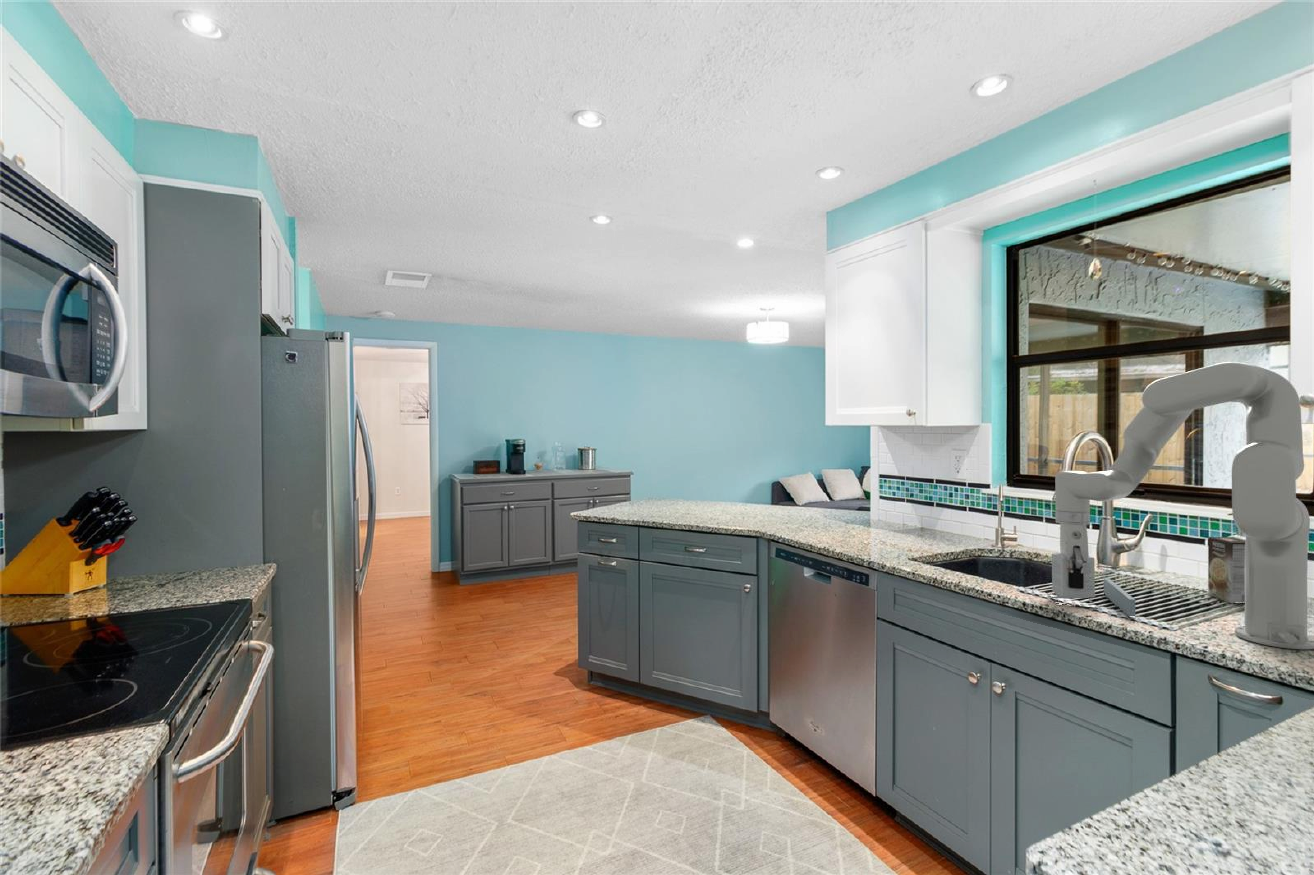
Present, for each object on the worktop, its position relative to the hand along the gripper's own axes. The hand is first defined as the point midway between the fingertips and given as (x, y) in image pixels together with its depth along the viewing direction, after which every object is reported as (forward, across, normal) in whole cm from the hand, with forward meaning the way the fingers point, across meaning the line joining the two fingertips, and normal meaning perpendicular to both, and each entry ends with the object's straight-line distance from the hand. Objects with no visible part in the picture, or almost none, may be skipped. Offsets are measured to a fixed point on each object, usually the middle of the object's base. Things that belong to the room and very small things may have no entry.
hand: (1072, 584), depth 164 cm
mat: (+5, 0, 0) cm, 5 cm away
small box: (+3, 0, 0) cm, 3 cm away
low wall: (+5, 0, -10) cm, 11 cm away
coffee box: (+5, +18, -39) cm, 43 cm away
